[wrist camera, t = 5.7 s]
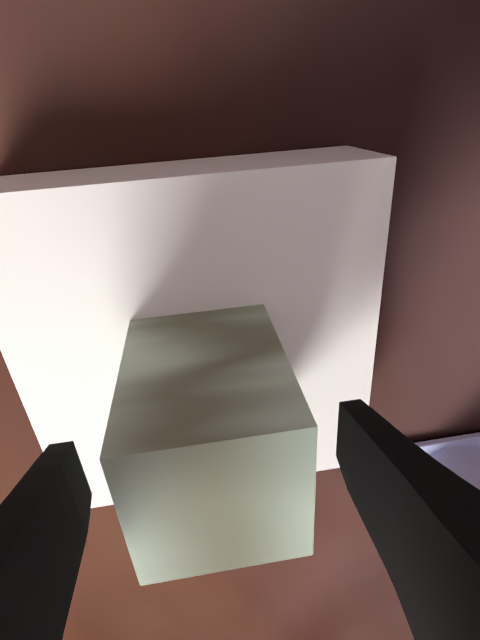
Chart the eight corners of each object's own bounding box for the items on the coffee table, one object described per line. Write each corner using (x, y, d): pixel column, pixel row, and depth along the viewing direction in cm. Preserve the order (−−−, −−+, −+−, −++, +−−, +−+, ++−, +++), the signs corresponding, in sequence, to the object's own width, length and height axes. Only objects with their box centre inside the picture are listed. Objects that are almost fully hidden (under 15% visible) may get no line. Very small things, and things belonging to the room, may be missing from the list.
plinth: (346, 145, 15) (396, 156, 12) (332, 406, 22) (362, 463, 18) (-5, 176, 14) (-63, 198, 11) (86, 442, 21) (67, 511, 17)
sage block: (263, 303, 14) (317, 426, 8) (267, 406, 16) (312, 554, 11) (129, 320, 13) (98, 459, 8) (152, 422, 15) (140, 586, 10)
